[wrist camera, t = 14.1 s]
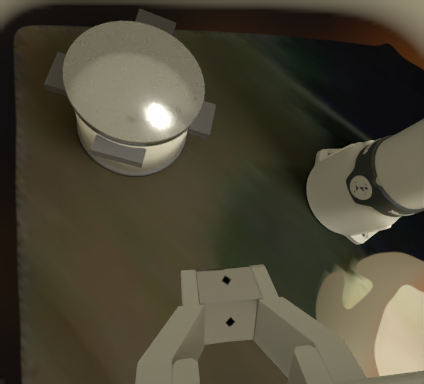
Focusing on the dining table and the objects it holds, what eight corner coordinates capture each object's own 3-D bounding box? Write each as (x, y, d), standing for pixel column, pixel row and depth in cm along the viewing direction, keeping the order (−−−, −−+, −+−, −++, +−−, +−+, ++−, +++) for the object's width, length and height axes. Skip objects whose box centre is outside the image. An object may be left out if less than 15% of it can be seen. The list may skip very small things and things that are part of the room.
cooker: (186, 199, 46) (204, 178, 36) (42, 163, 42) (16, 127, 31) (206, 104, 52) (226, 63, 42) (81, 62, 47) (70, 5, 37)
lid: (188, 162, 36) (191, 158, 34) (43, 122, 32) (40, 115, 31) (214, 45, 42) (217, 37, 40) (94, -1, 38) (93, -12, 37)
